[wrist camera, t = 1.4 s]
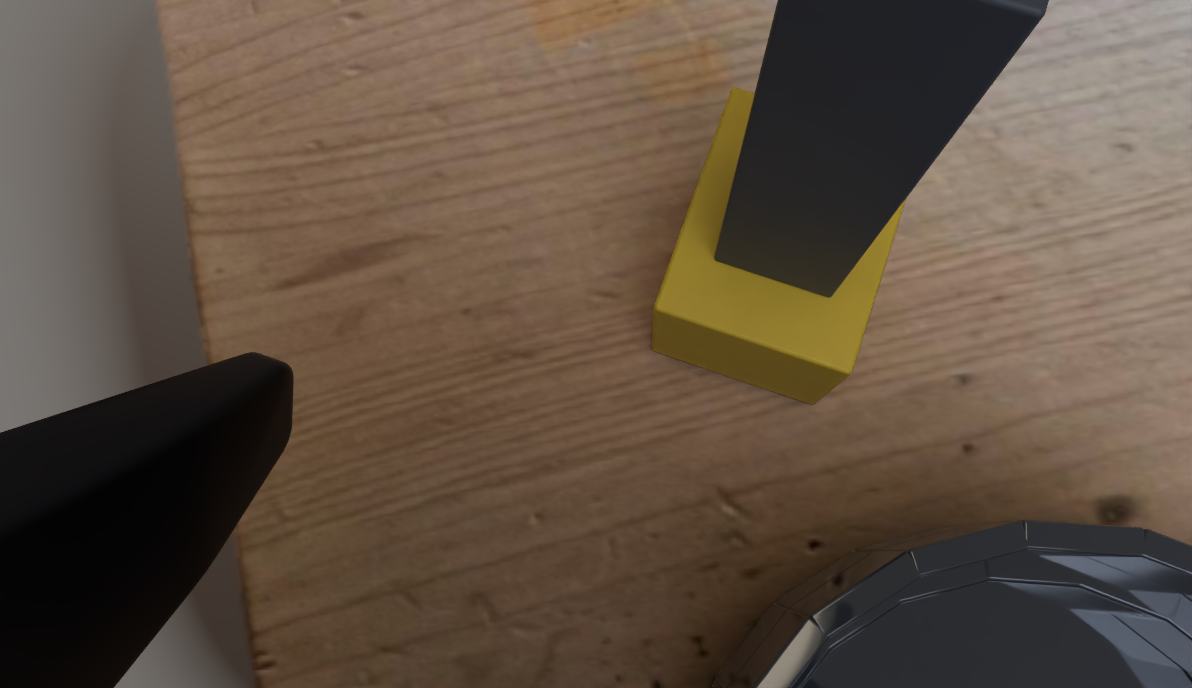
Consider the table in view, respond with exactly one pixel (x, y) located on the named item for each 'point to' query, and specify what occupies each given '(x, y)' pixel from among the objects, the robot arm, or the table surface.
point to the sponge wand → (822, 181)
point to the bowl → (983, 613)
